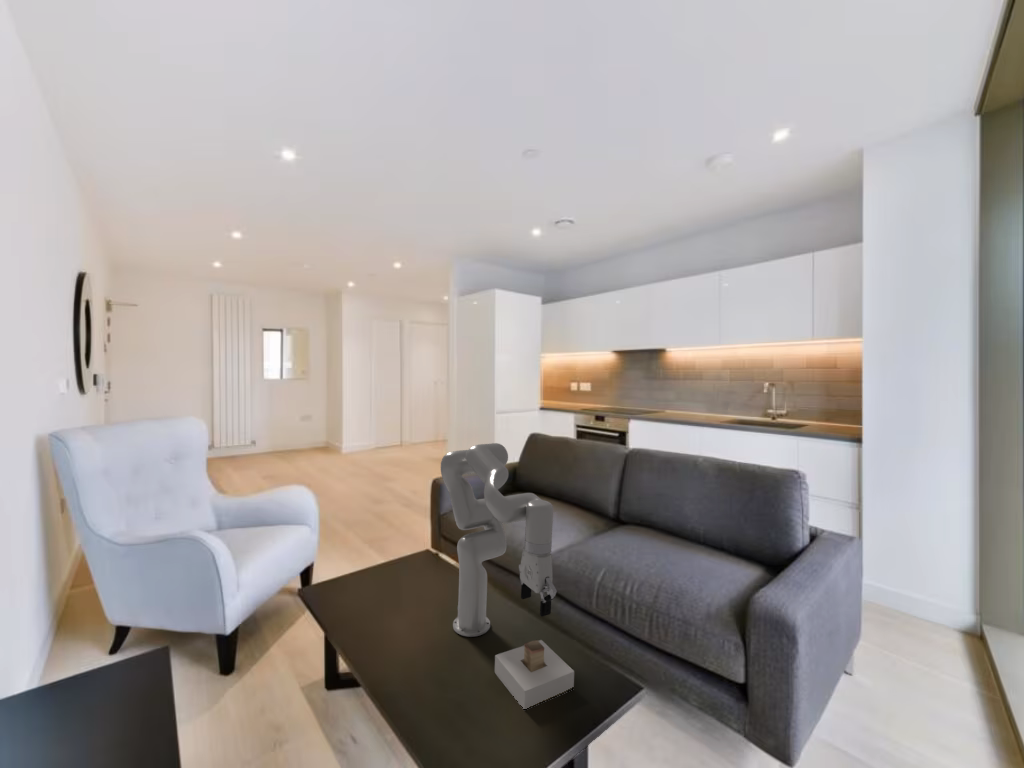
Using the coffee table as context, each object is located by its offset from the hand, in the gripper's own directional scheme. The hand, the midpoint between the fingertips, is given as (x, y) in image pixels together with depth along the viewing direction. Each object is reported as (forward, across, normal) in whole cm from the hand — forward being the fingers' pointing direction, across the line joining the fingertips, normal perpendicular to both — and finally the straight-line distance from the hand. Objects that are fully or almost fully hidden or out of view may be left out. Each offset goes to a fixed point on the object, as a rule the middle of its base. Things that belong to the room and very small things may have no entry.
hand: (535, 606), depth 121 cm
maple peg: (+21, 0, 0) cm, 21 cm away
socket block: (+21, 0, 0) cm, 21 cm away
